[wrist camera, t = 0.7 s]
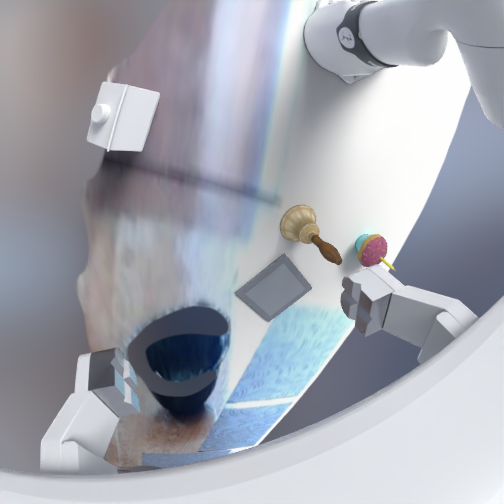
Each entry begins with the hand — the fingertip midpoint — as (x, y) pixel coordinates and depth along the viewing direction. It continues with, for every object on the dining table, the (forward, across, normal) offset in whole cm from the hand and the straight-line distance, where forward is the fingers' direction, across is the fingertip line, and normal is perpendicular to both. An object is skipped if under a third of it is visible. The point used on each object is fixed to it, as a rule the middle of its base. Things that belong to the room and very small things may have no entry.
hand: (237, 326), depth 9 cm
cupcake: (+42, -40, +31) cm, 66 cm away
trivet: (+42, -16, +37) cm, 58 cm away
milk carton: (+42, +4, -7) cm, 43 cm away
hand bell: (+42, -22, +21) cm, 52 cm away
